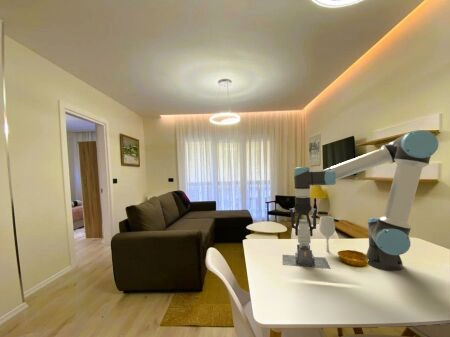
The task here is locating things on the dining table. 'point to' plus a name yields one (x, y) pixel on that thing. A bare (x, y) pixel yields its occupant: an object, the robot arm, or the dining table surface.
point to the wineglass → (327, 228)
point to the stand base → (305, 259)
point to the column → (304, 233)
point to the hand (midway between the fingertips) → (304, 242)
